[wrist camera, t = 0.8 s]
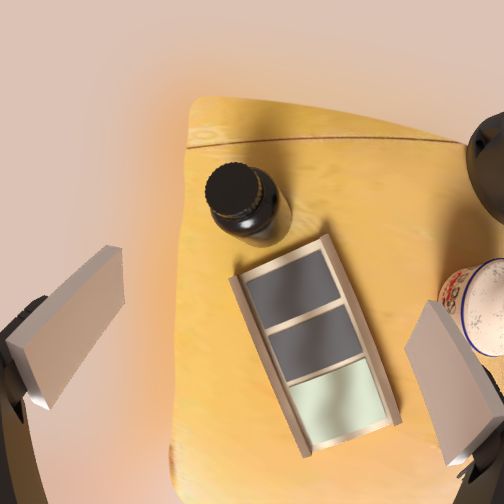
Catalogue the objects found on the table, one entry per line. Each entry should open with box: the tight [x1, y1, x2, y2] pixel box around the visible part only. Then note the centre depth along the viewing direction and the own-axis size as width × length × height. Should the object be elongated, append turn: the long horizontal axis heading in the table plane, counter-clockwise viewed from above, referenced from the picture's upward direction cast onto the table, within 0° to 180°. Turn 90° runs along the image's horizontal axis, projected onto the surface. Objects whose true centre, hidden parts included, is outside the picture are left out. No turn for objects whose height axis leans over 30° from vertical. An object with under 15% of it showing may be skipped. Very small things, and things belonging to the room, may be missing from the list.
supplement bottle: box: [205, 162, 292, 248], centre depth 32 cm, size 7×7×12 cm
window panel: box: [228, 233, 403, 458], centre depth 33 cm, size 12×23×2 cm, turn 23°
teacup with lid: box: [438, 258, 504, 357], centre depth 24 cm, size 12×9×12 cm
